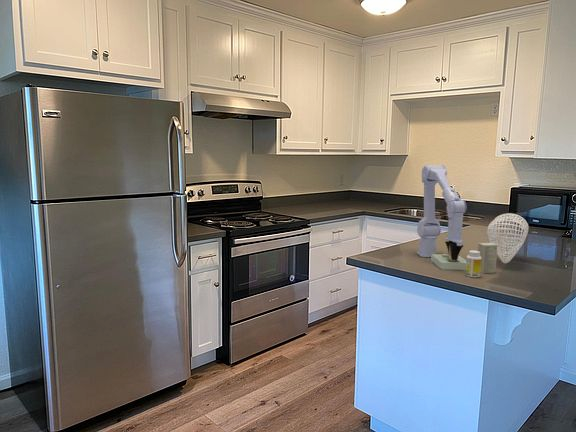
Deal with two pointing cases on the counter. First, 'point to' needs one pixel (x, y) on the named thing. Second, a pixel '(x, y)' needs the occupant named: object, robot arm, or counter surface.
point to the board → (444, 264)
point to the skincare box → (488, 257)
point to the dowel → (450, 256)
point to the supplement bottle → (473, 264)
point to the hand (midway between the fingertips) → (453, 258)
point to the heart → (517, 247)
